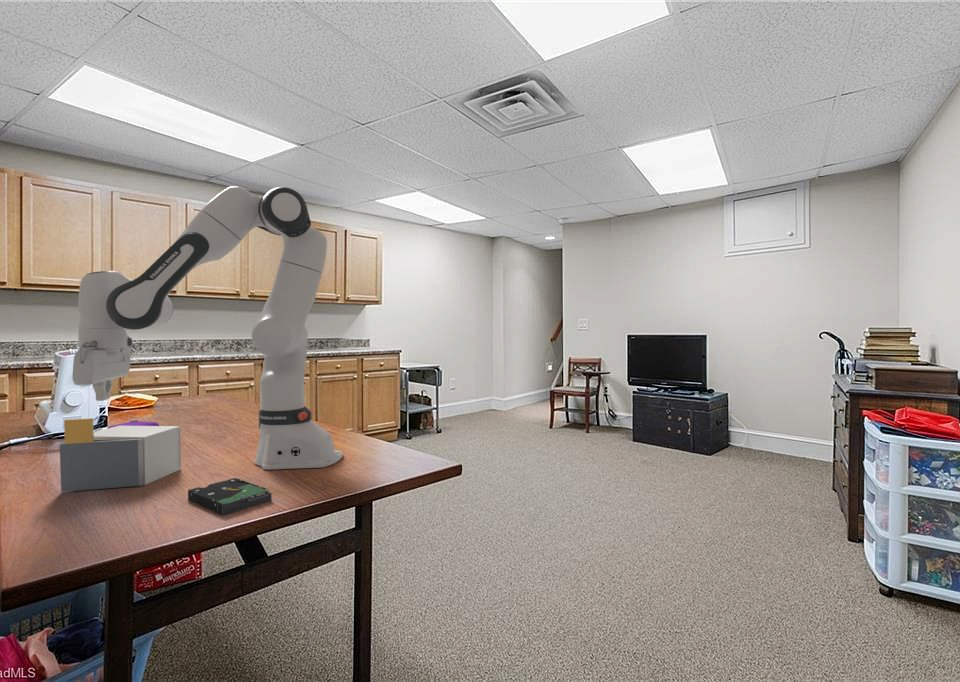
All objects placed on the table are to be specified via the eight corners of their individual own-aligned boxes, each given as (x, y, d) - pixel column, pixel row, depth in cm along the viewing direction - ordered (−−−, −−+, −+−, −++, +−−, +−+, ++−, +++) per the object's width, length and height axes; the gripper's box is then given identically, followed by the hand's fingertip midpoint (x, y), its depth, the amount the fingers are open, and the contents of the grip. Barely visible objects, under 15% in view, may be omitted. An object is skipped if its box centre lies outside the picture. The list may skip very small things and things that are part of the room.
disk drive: (186, 503, 101) (223, 518, 93) (186, 490, 101) (222, 503, 93) (235, 489, 110) (273, 502, 101) (235, 477, 110) (272, 488, 101)
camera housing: (183, 468, 124) (182, 425, 124) (145, 484, 111) (144, 437, 111) (123, 467, 125) (122, 424, 125) (79, 483, 112) (77, 436, 112)
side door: (144, 484, 111) (142, 415, 111) (142, 485, 110) (141, 416, 110) (63, 490, 107) (61, 419, 106) (60, 492, 106) (58, 420, 105)
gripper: (98, 342, 104) (98, 406, 105) (135, 339, 124) (135, 393, 124) (62, 342, 102) (63, 407, 103) (106, 339, 122) (106, 394, 122)
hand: (103, 399), depth 114 cm, fingers closed
